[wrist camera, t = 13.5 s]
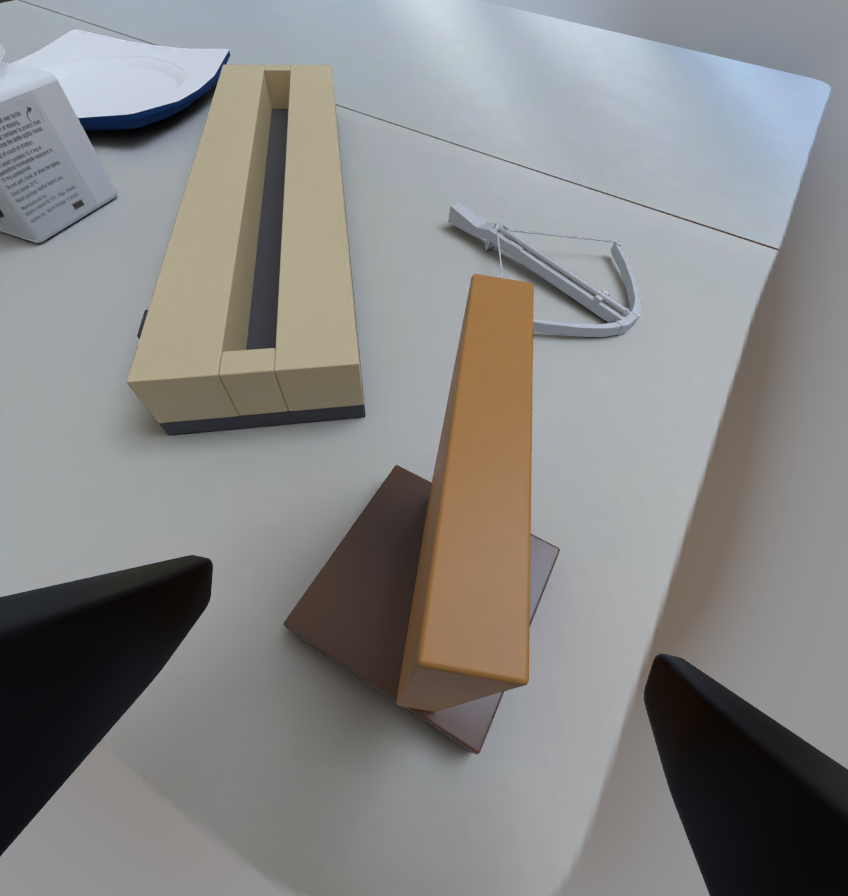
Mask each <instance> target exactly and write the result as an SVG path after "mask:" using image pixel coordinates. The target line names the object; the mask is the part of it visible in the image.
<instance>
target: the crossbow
mask: <svg viewBox="0 0 848 896" xmlns="http://www.w3.org/2000/svg"><path fill="white" fill-rule="evenodd" d="M448 222H449V223H451V224H452V225H454V226H456V227H458V228H460V229H462V230H463V231H465V232H467V233H469V234H471V235H473V236H474V237H479V238H483V239H487V240H486V244H485V248H484V250H486V251H487V250H488V249H490V248H492V247H494V246H495V249H496V250H499V259H500V268H501V277H502V278H503V271H502V262H501V253H500V249H502V250H503V251H504V252H506V253H507V254H509V255H510V256H512V257H513V258H515V259H516V260H518V261H519V262H521V263H522V264H523V265H525V266H526V267H528V268H529V269H531V270H532V271H534V272H535V273H537V274H538V275H540V276H541V277H542V278H544V279H545V280H547V281H548V282H550V283H551V284H553V285H554V286H556V287H557V288H559V289H560V290H561V291H563V292H564V293H566V294H567V295H569V296H570V297H572V298H573V299H575V300H576V301H578V302H579V303H580V304H582V305H583V306H585V307H586V308H588V309H589V310H591V311H592V312H594V313H595V314H597V315H598V316H599V317H601V318H602V319H604V320H605V321H607V322H608V323H607V324H575V323H565V322H556V321H547V320H538V319H533V331H535V332H541V333H549V334H558V335H568V336H582V337H606V336H612V335H621V334H624V332H625V331H626V330H628V329H629V328H630V327H631V326H633V325H634V323H635V322H636V320H637V319H638V317H639V315H640V312H641V311H640V307H641V299H640V294H639V289H638V285H637V282H636V279H635V277H634V274H633V271H632V269H631V266H630V263H629V262H628V260H627V258H626V256H625V254H624V252H623V250H622V248H621V243H620V242H618V241H617V240H615V241H611V240H602V239H592V238H583V237H574V236H565V235H556V234H546V233H537V232H528V231H519V230H509V229H508V228H506V227H505V226H503V227H502V226H500V225H498V224H497V223H496V224H493V223H488V222H485V221H484V220H483V219H482V218H481V217H479V216H478V215H477V214H476V213H474V212H473V211H472V210H471V209H470V208H468V207H467V206H466V205H465V204H464V203H462V202H461V201H460V202H458V203H456V204H453V205H451V206H450V213H449V220H448ZM510 231H513V232H523V233H532V234H541V235H550V236H560V237H569V238H578V239H587V240H597V241H606V242H614V244H613V246H612V248H611V254H612V256H613V258H614V260H615V262H616V264H617V266H618V268H619V270H620V272H621V275H622V278H623V281H624V284H625V287H626V290H627V295H628V300H629V305H630V310H629V308H627V309H626V308H625V307H623V306H622V305H620V304H619V303H617V302H616V301H614V300H613V299H611V298H610V297H608V296H609V295H610V293H609V292H607V291H606V290H603V291H602V292H601V291H599V290H598V289H596V288H595V287H593V286H592V285H590V284H589V283H587V282H585V281H584V280H582V279H581V278H579V277H578V276H576V275H575V274H573V273H572V272H570V271H569V270H567V269H566V268H564V267H563V266H561V265H560V264H558V263H557V262H555V261H554V260H552V259H551V258H549V257H548V256H546V255H545V254H543V253H542V252H540V251H539V250H537V249H536V248H534V247H532V246H531V245H530V244H529V243H528V242H526V241H525V240H523V239H522V238H520V237H517V236H516V235H514V234H513V233H511V232H510Z"/></svg>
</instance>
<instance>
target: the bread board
mask: <svg viewBox="0 0 848 896" xmlns="http://www.w3.org/2000/svg"><path fill="white" fill-rule="evenodd" d="M431 485H432V483H431V482H429V481H427V480H425V479H423V478H421V477H419V476H417V475H415V474H413V473H411V472H409V471H407V470H405V469H403V468H402V467H400V466H398V465H396V466H395V467H394V468H393V470H392V471H391V473H390V474H389V475H388V477H387V478H386V480H385V481H384V483H383V484H382V485H381V487H380V488H379V490H378V491H377V492H376V494H375V495H374V497H373V498H372V499H371V501H370V502H369V504H368V505H367V506H366V508H365V509H364V511H363V512H362V513H361V515H360V516H359V518H358V519H357V521H356V522H355V523H354V525H353V526H352V528H351V529H350V530H349V532H348V533H347V535H346V536H345V537H344V539H343V540H342V542H341V543H340V544H339V546H338V547H337V549H336V550H335V551H334V553H333V554H332V556H331V557H330V558H329V560H328V561H327V563H326V564H325V566H324V567H323V568H322V570H321V571H320V573H319V574H318V575H317V577H316V578H315V580H314V581H313V582H312V584H311V585H310V587H309V588H308V589H307V591H306V592H305V594H304V595H303V596H302V598H301V599H300V601H299V602H298V604H297V605H296V606H295V608H294V609H293V611H292V612H291V613H290V615H289V616H288V618H287V619H286V620H285V622H284V626H285V627H286V628H287V629H288V630H289V631H291V632H292V633H293V634H295V635H296V636H297V637H299V638H300V639H302V640H303V641H305V642H306V643H308V644H309V645H311V646H312V647H314V648H315V649H317V650H318V651H320V652H321V653H323V654H324V655H326V656H327V657H329V658H330V659H332V660H333V661H335V662H336V663H338V664H339V665H341V666H342V667H344V668H345V669H347V670H348V671H350V672H351V673H353V674H354V675H356V676H357V677H359V678H360V679H362V680H363V681H365V682H366V683H368V684H369V685H371V686H372V687H374V688H375V689H377V690H378V691H380V692H381V693H383V694H384V695H386V696H387V697H389V698H390V699H392V700H393V701H395V702H396V700H397V694H398V688H399V682H400V675H401V669H402V663H403V657H404V650H405V644H406V638H407V632H408V626H409V619H410V613H411V607H412V601H413V595H414V588H415V582H416V576H417V570H418V563H419V557H420V551H421V545H422V539H423V532H424V526H425V520H426V514H427V507H428V501H429V495H430V490H431ZM559 551H560V549H559V548H558V547H556V546H554V545H552V544H550V543H548V542H546V541H544V540H542V539H540V538H538V537H536V536H534V535H532V534H530V616H529V627H530V625H531V622H532V620H533V617H534V615H535V612H536V610H537V607H538V604H539V602H540V599H541V597H542V594H543V592H544V589H545V587H546V584H547V582H548V579H549V577H550V574H551V572H552V569H553V567H554V564H555V562H556V559H557V557H558V554H559ZM503 693H504V691H503V692H500V693H497V694H493V695H490V696H487V697H484V698H480V699H477V700H474V701H470V702H467V703H464V704H460V705H457V706H454V707H450V708H447V709H444V710H441V711H437V712H431V711H425V710H420V709H414V708H409V707H404V708H405V709H407V710H408V711H410V712H411V713H413V714H414V715H416V716H417V717H419V718H420V719H422V720H423V721H425V722H426V723H428V724H429V725H431V726H432V727H434V728H435V729H437V730H438V731H440V732H441V733H443V734H444V735H445V736H447V737H448V738H450V739H451V740H453V741H454V742H456V743H457V744H459V745H460V746H462V747H463V748H465V749H466V750H468V751H469V752H471V753H475V754H479V753H480V751H481V748H482V746H483V743H484V741H485V738H486V736H487V733H488V731H489V728H490V726H491V723H492V721H493V718H494V716H495V713H496V710H497V708H498V705H499V703H500V700H501V698H502V695H503ZM402 707H403V706H402Z"/></svg>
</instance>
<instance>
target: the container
mask: <svg viewBox="0 0 848 896" xmlns="http://www.w3.org/2000/svg"><path fill="white" fill-rule="evenodd" d="M4 55H5V51H4V49H3V47H2V46H1V44H0V231H1V232H4V233H7V234H10V235H13V236H17V237H20V238H23V239H26V240H29V241H32V242H36V243H41V242H43V241H45V240H46V239H48V238H50V237H51V236H53V235H55V234H56V233H58V232H59V231H61V230H63V229H64V228H66V227H68V226H69V225H71V224H73V223H74V222H76V221H78V220H79V219H81V218H82V217H84V216H86V215H87V214H89V213H91V212H92V211H94V210H96V209H97V208H99V207H101V206H102V205H104V204H105V203H107V202H109V201H110V200H112V199H114V198H115V197H116V196H117V192H116V189H115V187H114V185H113V184H112V182H111V180H110V178H109V176H108V174H107V172H106V170H105V168H104V167H103V165H102V163H101V161H100V159H99V157H98V155H97V153H96V151H95V150H94V148H93V146H92V144H91V142H90V140H89V138H88V136H87V134H86V132H85V131H84V129H83V127H82V125H81V123H80V121H79V119H78V117H77V115H76V114H75V112H74V110H73V108H72V106H71V104H70V102H69V100H68V98H67V96H66V95H65V93H64V91H63V89H62V87H61V85H60V83H59V81H58V79H57V78H56V77H55V76H54V75H53V74H51V73H50V72H46V71H42V70H37V69H33V68H28V67H24V66H20V65H15V64H11V63H7V62H4V61H3V59H2V58H3V57H4Z"/></svg>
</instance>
